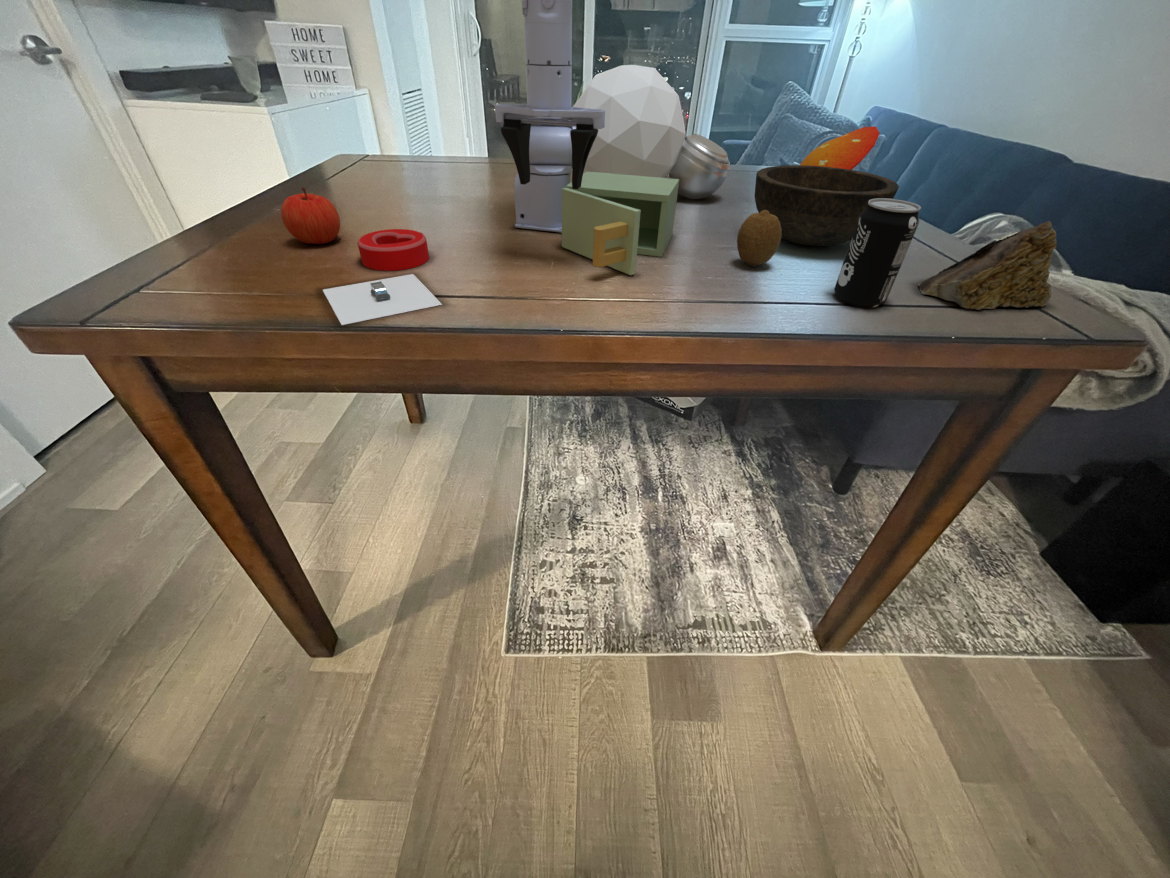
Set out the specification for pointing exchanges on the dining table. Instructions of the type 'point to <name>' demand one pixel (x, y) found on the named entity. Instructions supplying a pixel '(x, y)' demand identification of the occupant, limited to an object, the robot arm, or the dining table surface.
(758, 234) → the fruit
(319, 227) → the apple
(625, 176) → the cupboard
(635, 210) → the cupboard door
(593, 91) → the lamp
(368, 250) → the decorative ornament
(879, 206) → the beverage can
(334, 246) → the dining table surface
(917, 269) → the dining table surface
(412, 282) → the white paper sheet
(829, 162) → the decorative mushroom
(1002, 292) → the mineral specimen
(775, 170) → the bowl
